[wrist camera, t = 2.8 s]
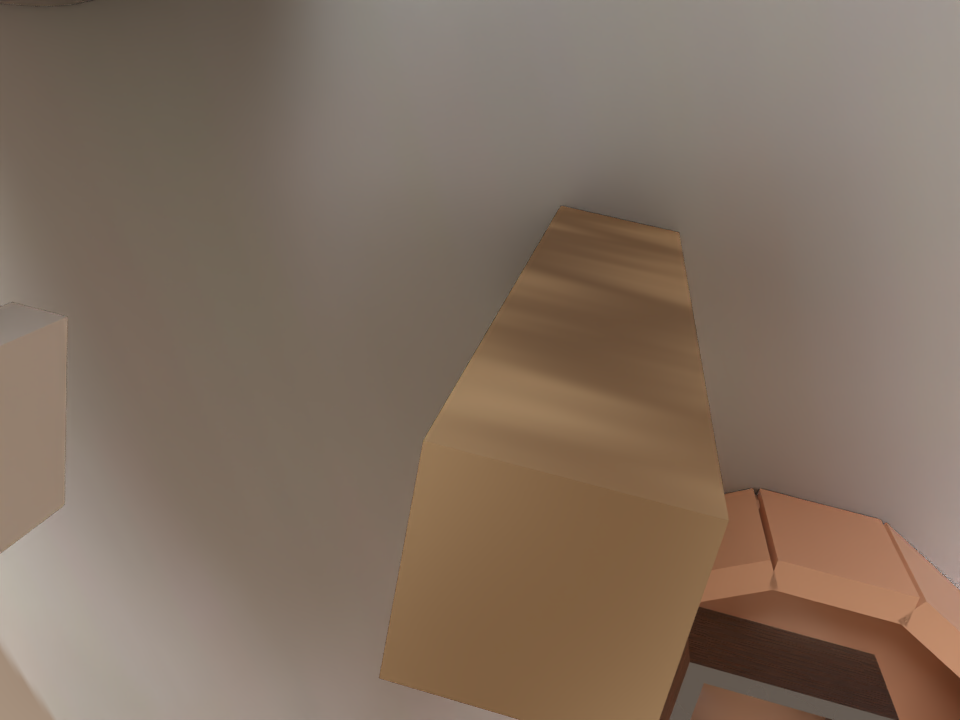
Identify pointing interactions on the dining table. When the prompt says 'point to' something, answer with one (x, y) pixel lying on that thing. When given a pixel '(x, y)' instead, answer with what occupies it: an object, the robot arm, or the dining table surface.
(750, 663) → the clip
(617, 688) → the tall wooden post
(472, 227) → the dining table surface
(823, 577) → the shallow terracotta dish
